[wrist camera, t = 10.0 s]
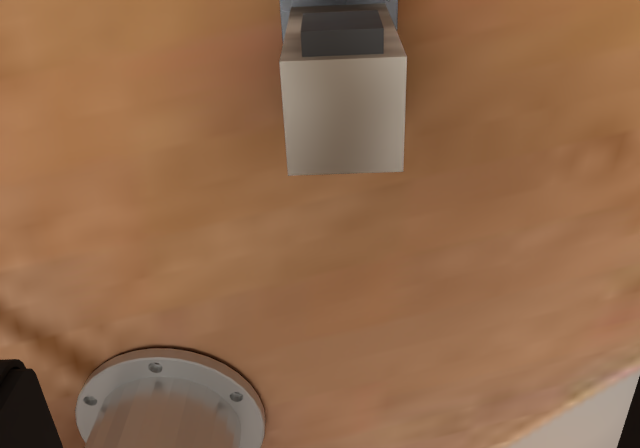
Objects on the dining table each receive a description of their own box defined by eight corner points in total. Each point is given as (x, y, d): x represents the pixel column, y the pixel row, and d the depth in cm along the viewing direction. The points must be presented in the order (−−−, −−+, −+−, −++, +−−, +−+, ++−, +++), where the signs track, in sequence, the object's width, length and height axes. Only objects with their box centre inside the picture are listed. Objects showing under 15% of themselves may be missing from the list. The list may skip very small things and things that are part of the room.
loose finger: (385, -17, 26) (407, 30, 19) (383, 94, 28) (403, 171, 21) (289, -13, 26) (277, 35, 19) (296, 97, 28) (288, 175, 21)
